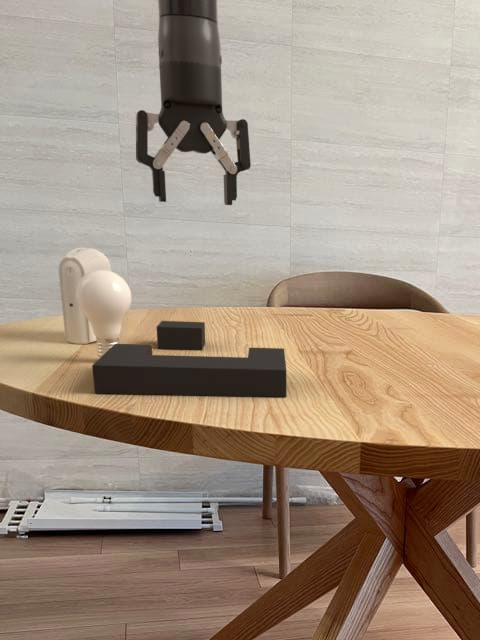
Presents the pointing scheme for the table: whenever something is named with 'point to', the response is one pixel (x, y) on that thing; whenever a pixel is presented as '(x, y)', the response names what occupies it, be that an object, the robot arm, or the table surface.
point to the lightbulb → (104, 305)
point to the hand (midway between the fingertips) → (195, 203)
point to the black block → (181, 335)
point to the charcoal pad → (190, 373)
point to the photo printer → (69, 276)
